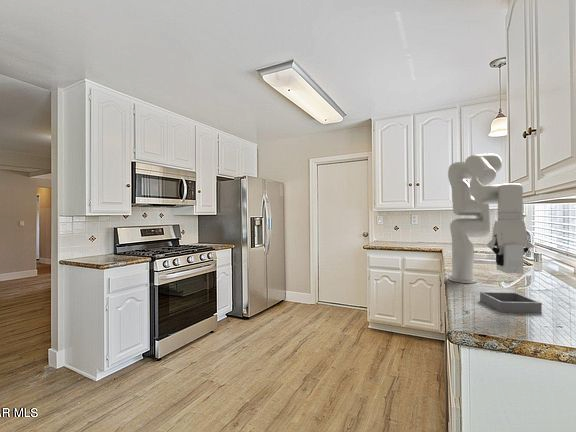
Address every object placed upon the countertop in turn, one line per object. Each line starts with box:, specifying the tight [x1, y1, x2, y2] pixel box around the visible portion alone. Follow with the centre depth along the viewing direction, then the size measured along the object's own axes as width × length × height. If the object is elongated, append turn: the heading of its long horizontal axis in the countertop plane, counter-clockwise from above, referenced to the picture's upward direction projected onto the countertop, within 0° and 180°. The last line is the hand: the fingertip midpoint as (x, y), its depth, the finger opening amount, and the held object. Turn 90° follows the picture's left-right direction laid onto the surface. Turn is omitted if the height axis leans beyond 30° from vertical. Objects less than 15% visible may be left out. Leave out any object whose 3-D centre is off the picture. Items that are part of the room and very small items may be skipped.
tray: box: [479, 291, 543, 314], centre depth 116 cm, size 14×14×4 cm
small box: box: [496, 244, 524, 274], centre depth 116 cm, size 8×6×10 cm
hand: (509, 264), depth 116 cm, fingers closed on small box, 6 cm apart
